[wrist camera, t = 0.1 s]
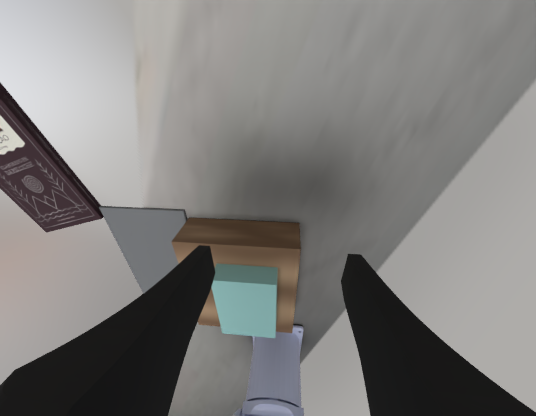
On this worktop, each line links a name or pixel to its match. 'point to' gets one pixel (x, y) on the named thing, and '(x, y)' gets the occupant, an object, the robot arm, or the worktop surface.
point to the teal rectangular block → (246, 299)
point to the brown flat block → (247, 256)
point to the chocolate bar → (39, 173)
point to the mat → (146, 239)
